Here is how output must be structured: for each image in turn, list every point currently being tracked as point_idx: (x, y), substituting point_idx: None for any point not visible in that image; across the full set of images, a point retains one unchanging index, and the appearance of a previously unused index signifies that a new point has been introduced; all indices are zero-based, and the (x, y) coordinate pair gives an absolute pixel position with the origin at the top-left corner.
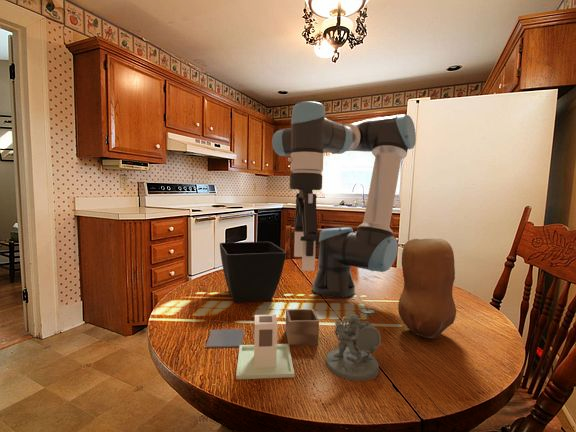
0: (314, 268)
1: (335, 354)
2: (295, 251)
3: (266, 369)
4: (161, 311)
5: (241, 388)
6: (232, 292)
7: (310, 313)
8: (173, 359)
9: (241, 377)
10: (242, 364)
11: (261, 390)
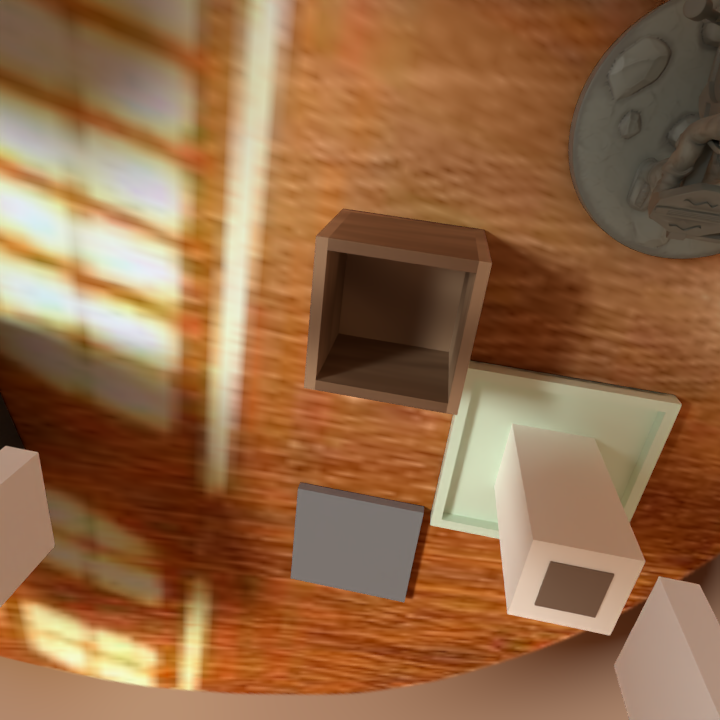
0: (710, 609)
1: (641, 203)
2: (9, 585)
3: None
4: (131, 674)
5: (651, 541)
6: None
7: (330, 251)
8: (442, 660)
9: None
10: None
11: (686, 497)
